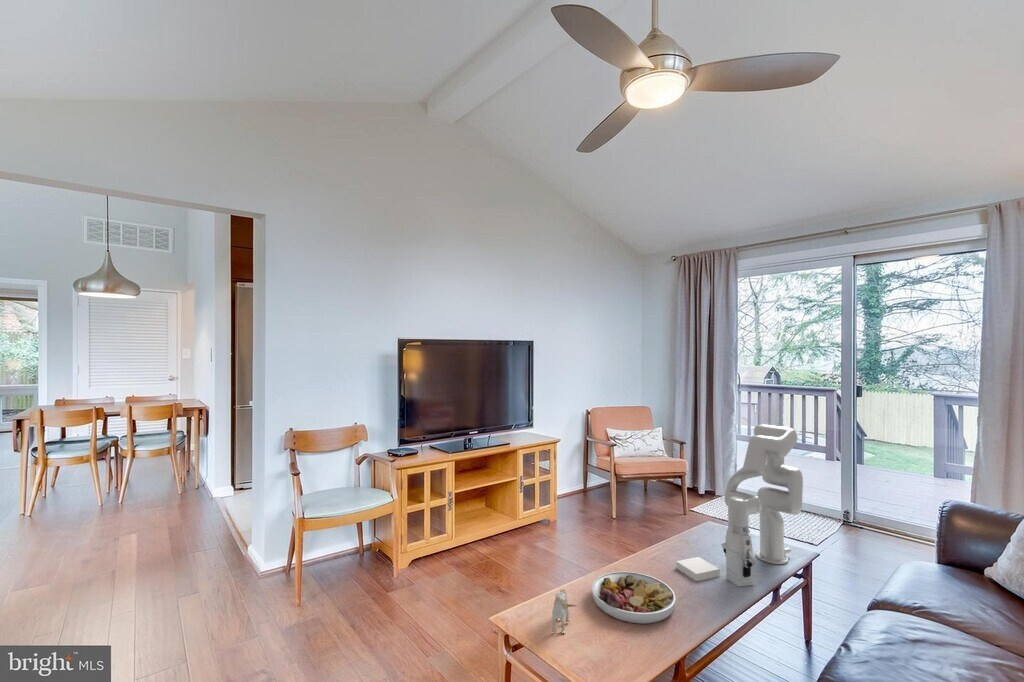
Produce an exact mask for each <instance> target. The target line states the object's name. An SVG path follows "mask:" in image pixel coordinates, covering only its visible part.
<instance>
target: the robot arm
mask: <svg viewBox="0 0 1024 682" xmlns="http://www.w3.org/2000/svg"><path fill="white" fill-rule="evenodd" d="M753 434H754V435H752V436H751V437H750V438H749V441H748V445H747V450H746V453H745V457H744V461H743V466H742V467H741V468H740V469H739V470H737V471H736V472H734V473H733V474H732V475H731V477H730V478H729V479H728V481H727V485H726V488H725V493H724V503H725V505H726V506H727V529H726V533H725V534H726V535H725V542H723V543H721V546H722V550H723V552H724V557H726V548H728V549H730V550H732V551H734V552H736V553H738V554H740V555H741V559H742V560H743V563H744V566H745V567H743V576H744V577H750V576H751V567H752V566H753V567H754V566H755V564H756V562H757V559H759V560H760V561H763V562H765V563H767V564H774V565H785V564H788V562H789V558H788V557H787V556H786V555H787V554H789V553H791V552H792V549H791V548H790V547H786V548H785V541H784V540H785V536H784V535H785V534H784V533H785V531H784V530H785V529H784V528H785V526H784V525H785V523H784V518H783V516H782V514H781V513H784V514H789V515H793V516H797V515H799V514H800V513H801V512H802V507H803V491H804V489H803V488H804V478H803V473H802V471H801V470H800V469H799V468H797V467H795V466H791V465H790V466H789V465H785V457H786V456H787V455H788V454H789V453H790V452H791V451H792V449H794V447H795V446H796V444H797V441H798V434H797V431H796V430H795V429H794V428H792V427H788V426H779V425H774V424H773V425H771V424H758V425H755V426H754V428H753ZM758 477H762V480H763V482H764V483H766V484H768V485H771V487H770V486H762V487H760V488H758V490H757V493H756V495H755V494H751V493H748V492H744V491H739V490H737V489H738V487H739V485H740V484H741V483H743V482H745V481H746V480H749V479H754V478H758ZM772 486H776V487H772ZM777 487H781V488H786V489H787V490H784V489H780V488H777ZM757 514H759V550H757V551H755V555H756V556H754V552H753V551H754V550H753V541H752V535H751V534H750V532H751V531H750V529H749V528H750V527H749V526H750V525H749V524H750V523H749V521H750V519H749V515H750V516H751V515H757ZM747 555H748V556H749V557H748V558H746V557H747ZM755 557H756V558H755ZM749 558H750V559H751V561H750V559H749ZM746 560H748V563H746Z"/></svg>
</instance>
